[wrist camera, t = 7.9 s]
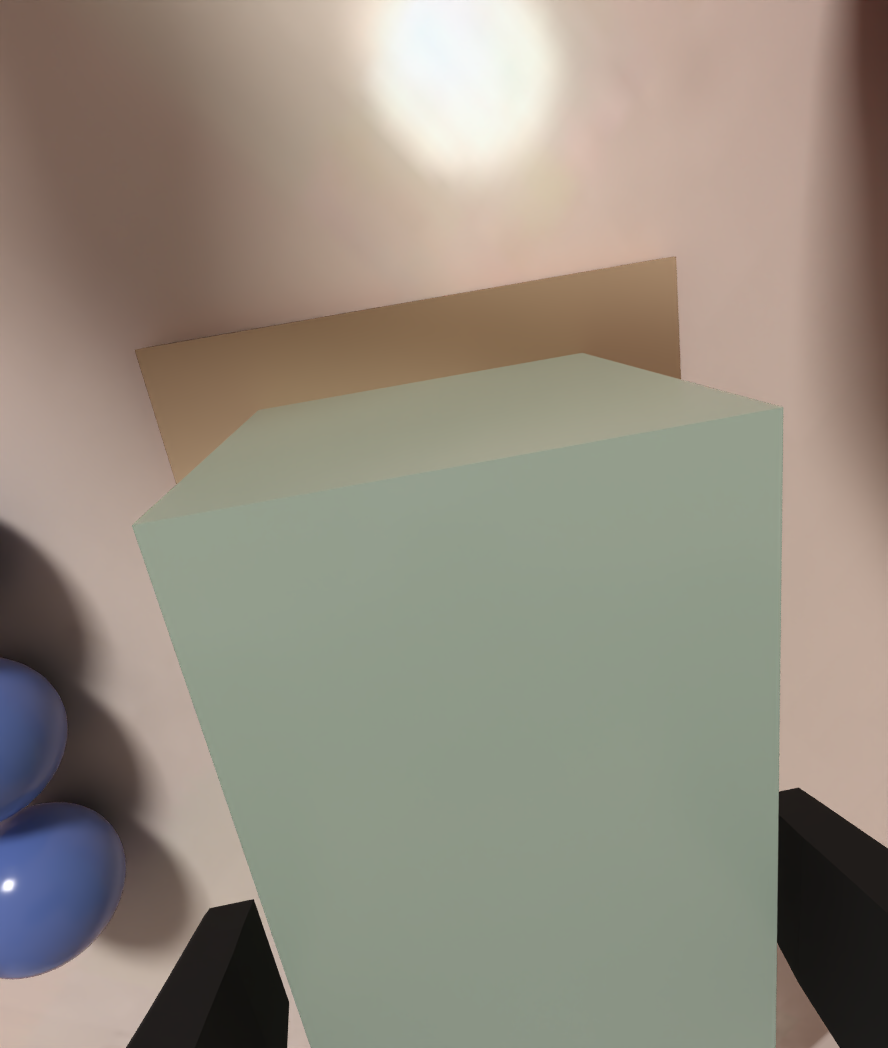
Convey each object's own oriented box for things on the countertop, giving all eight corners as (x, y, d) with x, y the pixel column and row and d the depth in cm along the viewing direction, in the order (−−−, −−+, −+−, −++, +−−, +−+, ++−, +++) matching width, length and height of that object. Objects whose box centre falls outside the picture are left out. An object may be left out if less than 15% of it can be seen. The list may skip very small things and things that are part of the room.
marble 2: (164, 866, 15) (113, 1000, 12) (30, 892, 15) (-54, 1034, 12) (121, 757, 14) (54, 875, 11) (-24, 784, 14) (-129, 911, 11)
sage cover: (631, 908, 16) (773, 1254, 10) (398, 957, 15) (409, 1335, 10) (582, 352, 11) (783, 407, 6) (258, 409, 11) (131, 525, 5)
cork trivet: (692, 924, 17) (703, 946, 16) (344, 996, 17) (343, 1020, 16) (661, 258, 12) (675, 256, 11) (147, 347, 11) (134, 350, 11)
